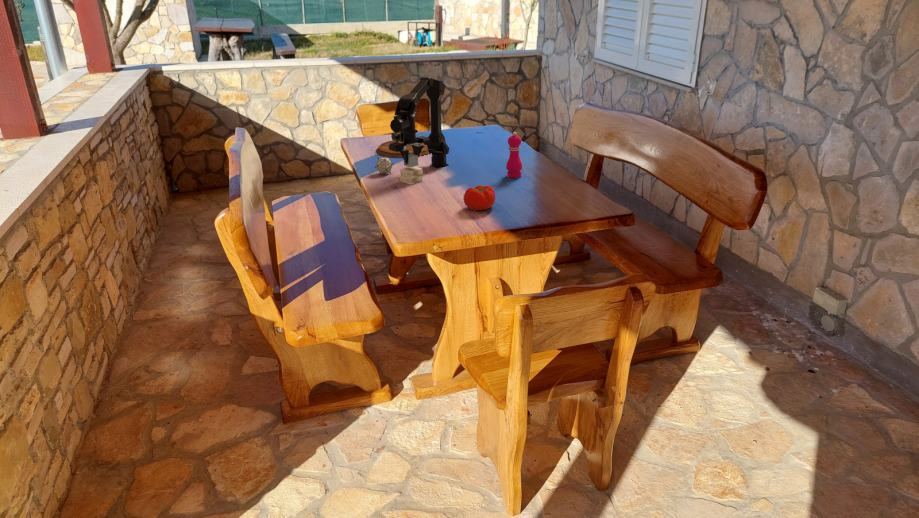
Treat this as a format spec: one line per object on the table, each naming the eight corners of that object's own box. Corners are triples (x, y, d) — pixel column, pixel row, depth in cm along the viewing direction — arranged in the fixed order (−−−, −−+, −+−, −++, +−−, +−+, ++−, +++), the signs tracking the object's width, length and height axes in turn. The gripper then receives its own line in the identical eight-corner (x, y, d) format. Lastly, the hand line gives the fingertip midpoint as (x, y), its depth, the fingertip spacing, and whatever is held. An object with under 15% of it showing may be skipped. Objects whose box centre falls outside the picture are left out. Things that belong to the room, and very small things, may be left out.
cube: (412, 163, 280) (411, 153, 278) (418, 165, 277) (417, 155, 275) (403, 165, 277) (403, 155, 275) (410, 167, 274) (409, 157, 272)
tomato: (472, 216, 239) (472, 194, 235) (459, 206, 249) (458, 185, 246) (502, 210, 243) (502, 189, 240) (488, 201, 254) (488, 180, 250)
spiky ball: (388, 182, 292) (389, 169, 283) (371, 175, 292) (372, 162, 283) (395, 168, 296) (397, 155, 288) (379, 161, 296) (380, 148, 288)
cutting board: (403, 140, 350) (403, 135, 349) (450, 147, 333) (449, 142, 332) (363, 153, 327) (363, 148, 326) (411, 162, 309) (410, 157, 308)
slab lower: (413, 178, 285) (412, 172, 284) (422, 181, 280) (422, 175, 279) (400, 181, 281) (400, 175, 279) (409, 185, 276) (409, 178, 275)
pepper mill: (524, 174, 285) (525, 130, 276) (518, 179, 279) (519, 134, 270) (509, 173, 288) (509, 129, 279) (503, 177, 282) (503, 133, 273)
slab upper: (412, 172, 283) (412, 165, 282) (422, 175, 279) (422, 168, 278) (400, 175, 279) (400, 169, 278) (411, 178, 274) (410, 172, 273)
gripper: (414, 121, 281) (416, 155, 288) (380, 128, 270) (382, 163, 277) (430, 125, 273) (431, 160, 280) (395, 132, 262) (397, 168, 269)
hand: (410, 163), depth 277 cm, fingers closed on cube, 4 cm apart
